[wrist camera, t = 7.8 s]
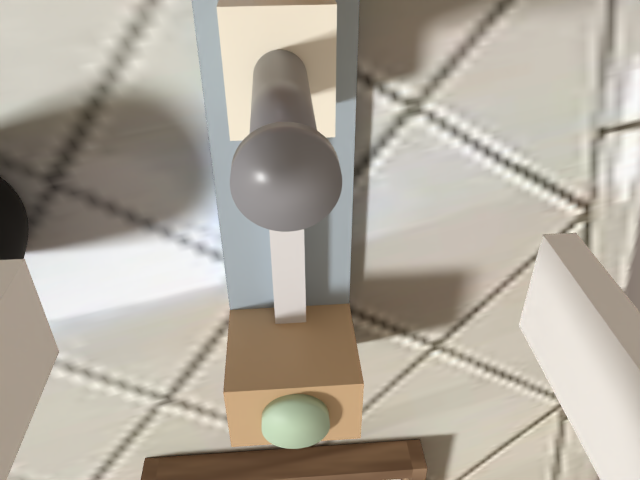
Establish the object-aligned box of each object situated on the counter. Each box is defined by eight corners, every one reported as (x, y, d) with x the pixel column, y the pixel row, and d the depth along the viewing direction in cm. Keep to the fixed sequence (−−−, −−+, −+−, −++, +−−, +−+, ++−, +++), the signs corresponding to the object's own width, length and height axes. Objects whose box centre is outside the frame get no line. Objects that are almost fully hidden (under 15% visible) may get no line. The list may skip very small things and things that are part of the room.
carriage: (222, -11, 26) (189, 91, 15) (329, -13, 27) (373, 85, 16) (233, 111, 30) (213, 267, 19) (328, 108, 30) (364, 260, 19)
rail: (170, -201, 23) (126, -223, 16) (363, -201, 24) (404, -222, 17) (237, 352, 42) (230, 458, 34) (345, 345, 42) (362, 449, 35)
